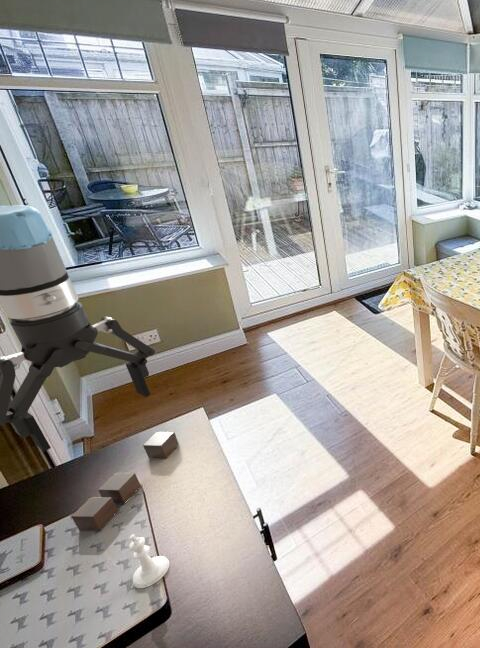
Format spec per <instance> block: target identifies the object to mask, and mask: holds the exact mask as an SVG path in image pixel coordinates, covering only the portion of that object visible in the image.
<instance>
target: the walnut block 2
mask: <svg viewBox="0 0 480 648" xmlns="http://www.w3.org/2000/svg"><path fill="white" fill-rule="evenodd" d="M138 488H139V489H141V488H142V485H141V483H140V481H139V479H138V477H137V474H136V472H114V473H113V474H112V475H111V477H109V478H108V479H107V480H106V481H105V482H104V483H103V484H102V485H101V486H100V487H99V488H98V489H97V491H98V493H99V495H100V497H111V498H112V499H113V501H114V503H115V505H121V504H120V503H125V502H126V501H127V500H128V499H129V498H130V497H131V498H132V497H134V495H135V494H136V493H137V492H138V490H139V489H138ZM136 490H137V491H136ZM135 491H136V492H135ZM131 498H130V499H131ZM130 499H129V500H130ZM129 500H128V501H129ZM128 501H127V502H126V503H125V504H124V505H126V504H127V503H128Z"/></svg>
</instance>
